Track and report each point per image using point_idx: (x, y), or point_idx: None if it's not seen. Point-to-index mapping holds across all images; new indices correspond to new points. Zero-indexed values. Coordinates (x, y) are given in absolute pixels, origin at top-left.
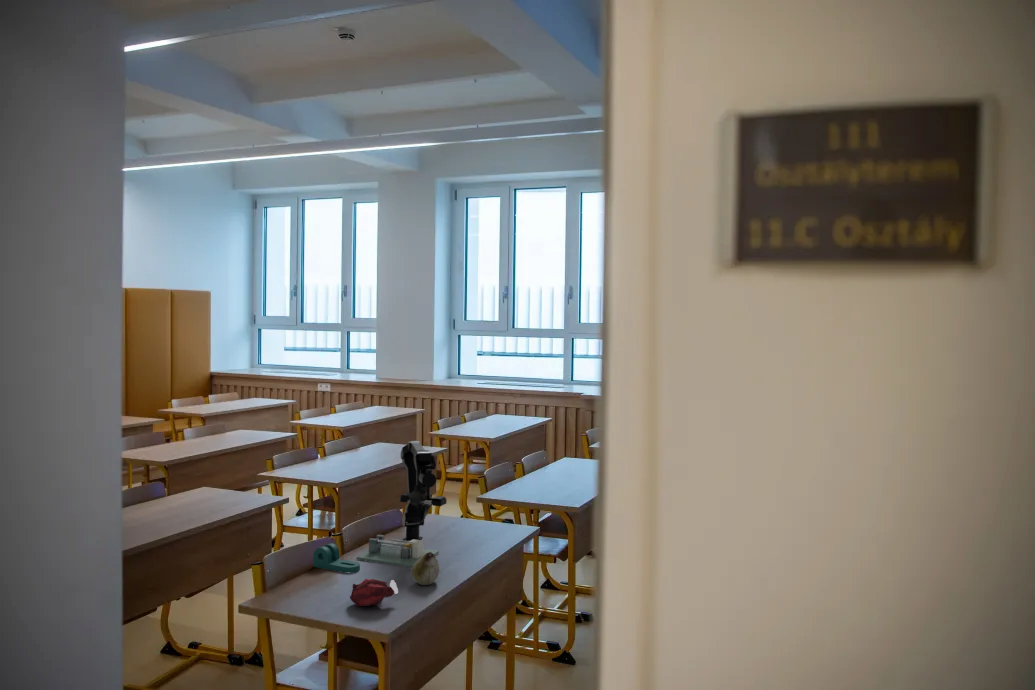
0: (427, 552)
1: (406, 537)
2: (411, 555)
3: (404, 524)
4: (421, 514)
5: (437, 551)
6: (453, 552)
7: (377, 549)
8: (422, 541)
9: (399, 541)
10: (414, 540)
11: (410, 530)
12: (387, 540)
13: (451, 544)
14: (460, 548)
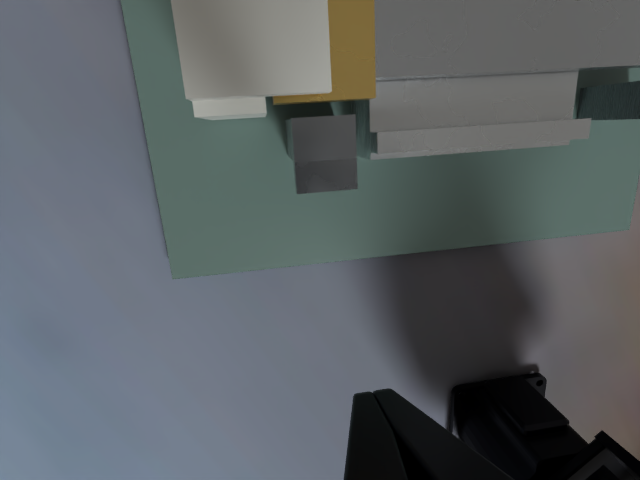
0: (227, 201)
1: (527, 384)
2: None
3: (621, 447)
4: (429, 476)
5: (173, 262)
6: (95, 343)
7: (616, 80)
8: (183, 78)
9: (493, 124)
10: (289, 52)
11: (536, 431)
12: (607, 57)
13: (221, 464)
14: (112, 433)
